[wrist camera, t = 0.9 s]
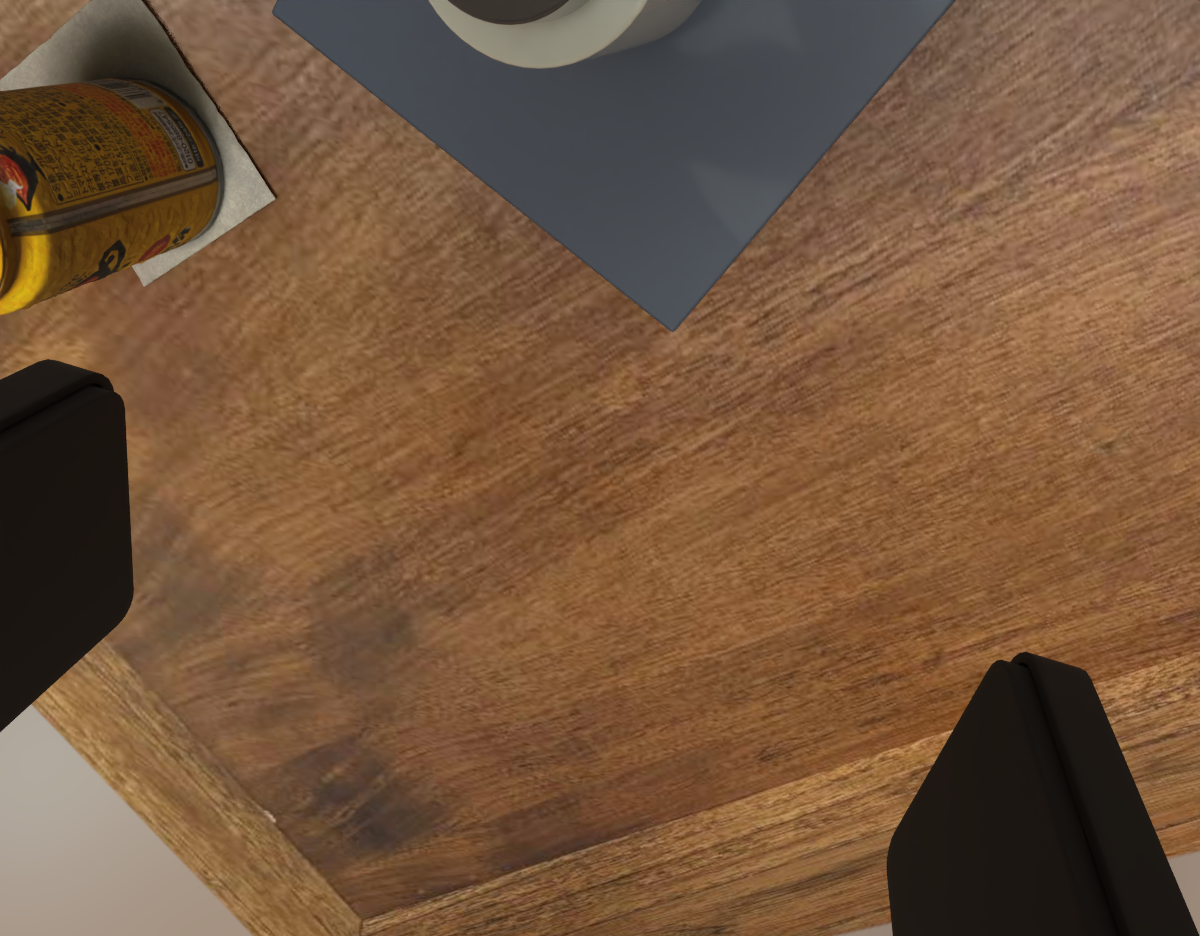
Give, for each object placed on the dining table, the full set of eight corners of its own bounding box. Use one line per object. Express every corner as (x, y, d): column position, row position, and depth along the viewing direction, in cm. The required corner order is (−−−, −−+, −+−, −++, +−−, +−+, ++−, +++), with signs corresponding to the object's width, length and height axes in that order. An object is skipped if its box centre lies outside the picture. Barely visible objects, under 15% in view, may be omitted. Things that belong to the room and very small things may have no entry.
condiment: (147, 285, 36) (-121, 401, 25) (-1, 83, 33) (-369, 120, 23) (279, 197, 33) (38, 288, 23) (129, -31, 30) (-222, -47, 20)
